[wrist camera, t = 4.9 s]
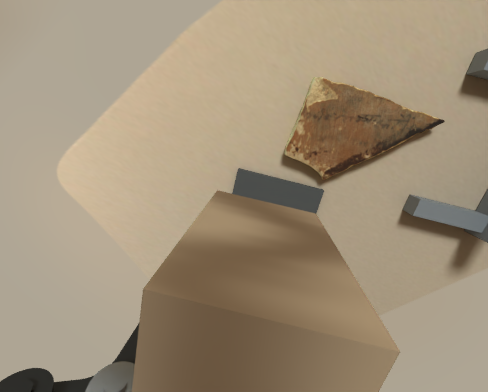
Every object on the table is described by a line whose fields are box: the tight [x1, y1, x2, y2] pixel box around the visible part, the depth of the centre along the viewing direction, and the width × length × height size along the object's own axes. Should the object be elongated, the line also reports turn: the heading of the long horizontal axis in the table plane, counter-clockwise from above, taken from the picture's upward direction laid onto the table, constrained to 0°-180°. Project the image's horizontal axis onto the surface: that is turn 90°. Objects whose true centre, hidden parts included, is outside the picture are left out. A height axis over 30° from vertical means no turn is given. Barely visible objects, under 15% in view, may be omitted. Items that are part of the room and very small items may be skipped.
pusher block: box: [132, 191, 400, 392], centre depth 8 cm, size 4×10×6 cm, turn 168°
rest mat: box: [232, 168, 324, 213], centre depth 23 cm, size 8×13×1 cm, turn 166°
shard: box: [284, 77, 444, 180], centre depth 20 cm, size 11×8×2 cm
